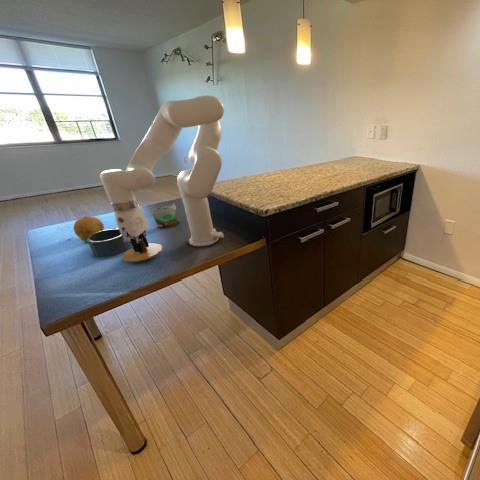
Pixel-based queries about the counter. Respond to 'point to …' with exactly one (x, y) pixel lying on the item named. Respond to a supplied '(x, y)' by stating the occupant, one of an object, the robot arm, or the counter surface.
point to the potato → (87, 227)
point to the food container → (165, 216)
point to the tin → (107, 243)
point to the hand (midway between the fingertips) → (141, 248)
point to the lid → (146, 254)
